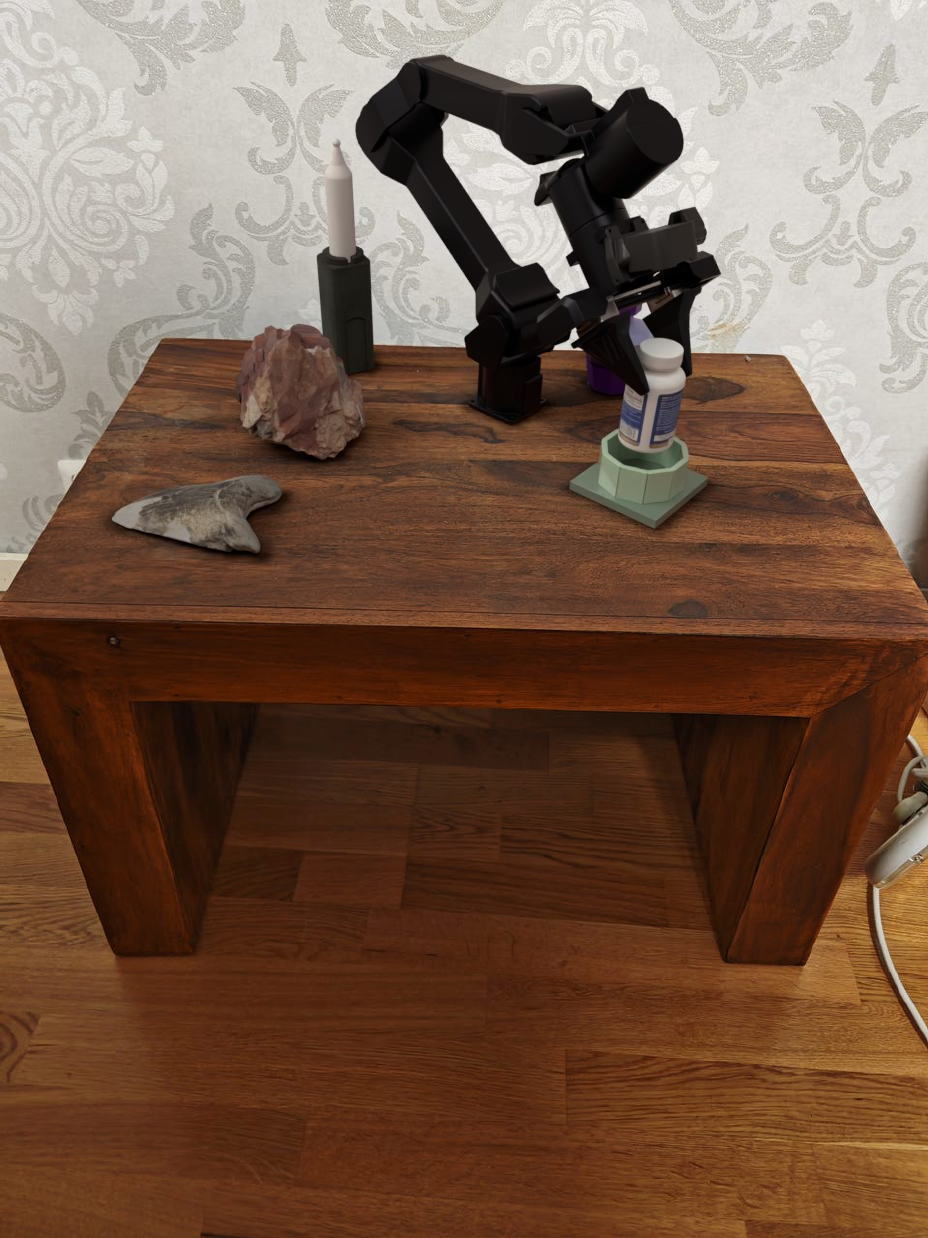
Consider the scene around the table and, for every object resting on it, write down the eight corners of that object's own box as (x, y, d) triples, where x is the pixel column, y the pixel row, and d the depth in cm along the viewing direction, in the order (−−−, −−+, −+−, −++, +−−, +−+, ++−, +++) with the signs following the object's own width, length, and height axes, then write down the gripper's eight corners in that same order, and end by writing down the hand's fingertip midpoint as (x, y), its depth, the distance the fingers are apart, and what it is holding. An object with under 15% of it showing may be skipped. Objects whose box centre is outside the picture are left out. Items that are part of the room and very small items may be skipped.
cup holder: (568, 489, 97) (573, 450, 94) (623, 450, 103) (629, 412, 100) (654, 529, 92) (662, 489, 89) (707, 485, 98) (715, 447, 95)
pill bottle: (673, 429, 96) (692, 337, 89) (672, 458, 92) (691, 364, 85) (618, 422, 96) (633, 330, 90) (615, 451, 92) (630, 357, 86)
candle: (337, 377, 113) (321, 148, 96) (321, 359, 116) (303, 134, 100) (377, 368, 115) (369, 142, 98) (361, 351, 118) (349, 129, 101)
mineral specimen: (281, 500, 102) (243, 397, 109) (391, 449, 102) (346, 349, 109) (236, 439, 92) (197, 329, 98) (359, 383, 92) (312, 276, 98)
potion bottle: (613, 361, 118) (626, 263, 110) (663, 390, 113) (681, 290, 105) (558, 379, 114) (568, 279, 106) (608, 410, 109) (622, 308, 101)
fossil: (122, 457, 93) (274, 451, 92) (138, 493, 97) (285, 488, 95) (86, 538, 86) (251, 532, 84) (105, 574, 89) (264, 569, 88)
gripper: (572, 199, 76) (652, 382, 77) (727, 158, 85) (796, 323, 86) (502, 264, 86) (573, 426, 87) (647, 221, 95) (711, 369, 96)
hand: (666, 385), depth 89 cm, fingers closed on pill bottle, 5 cm apart
